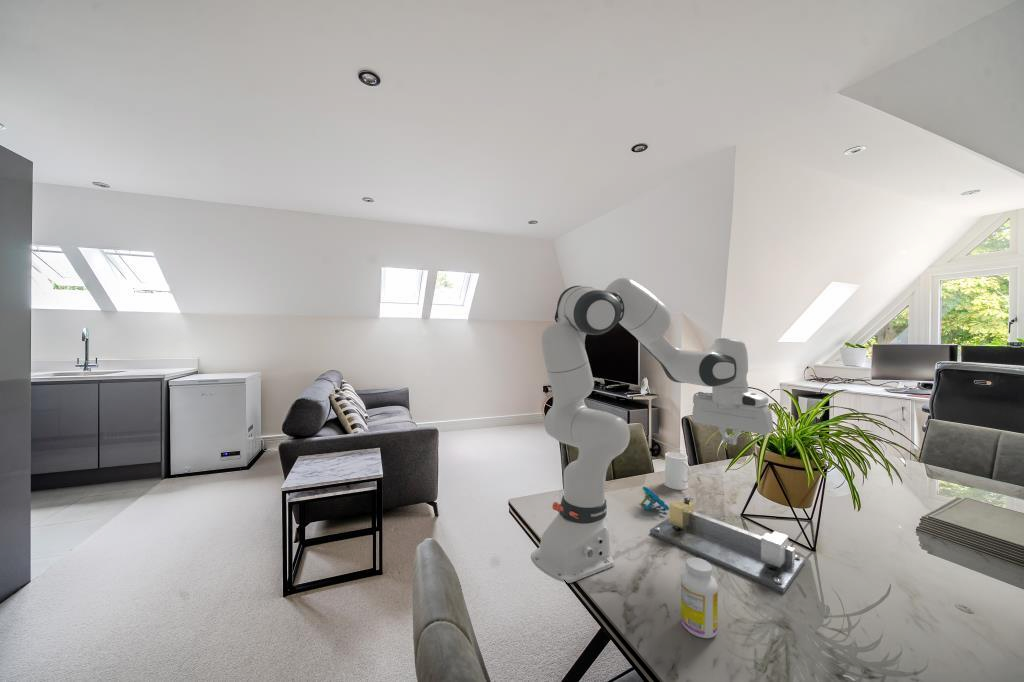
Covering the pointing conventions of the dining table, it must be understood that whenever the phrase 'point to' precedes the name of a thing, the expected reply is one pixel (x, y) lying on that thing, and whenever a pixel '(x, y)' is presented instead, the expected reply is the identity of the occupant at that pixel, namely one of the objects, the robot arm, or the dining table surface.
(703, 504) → the dining table surface
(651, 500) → the gear
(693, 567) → the supplement bottle
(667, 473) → the mug
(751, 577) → the bolt plate
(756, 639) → the dining table surface
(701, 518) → the trammel bar
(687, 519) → the block
